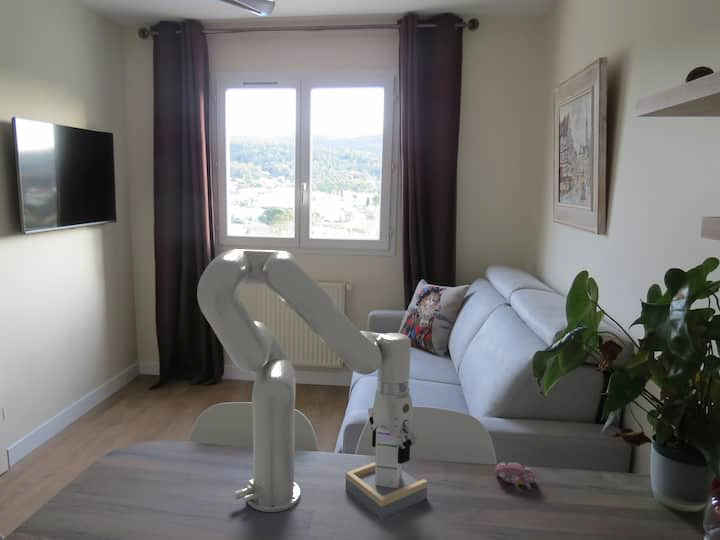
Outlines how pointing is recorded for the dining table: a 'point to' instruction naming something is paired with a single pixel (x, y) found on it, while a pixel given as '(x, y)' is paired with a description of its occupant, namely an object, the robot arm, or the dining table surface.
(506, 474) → the pink toy figure
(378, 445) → the syrup box
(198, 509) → the dining table surface
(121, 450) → the dining table surface
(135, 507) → the dining table surface
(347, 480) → the tray
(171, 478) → the dining table surface
